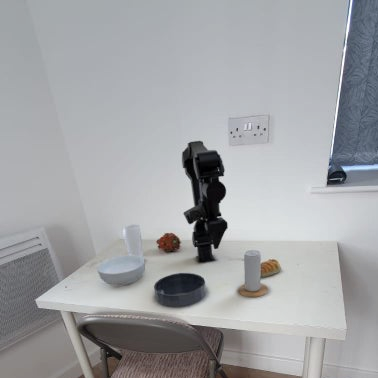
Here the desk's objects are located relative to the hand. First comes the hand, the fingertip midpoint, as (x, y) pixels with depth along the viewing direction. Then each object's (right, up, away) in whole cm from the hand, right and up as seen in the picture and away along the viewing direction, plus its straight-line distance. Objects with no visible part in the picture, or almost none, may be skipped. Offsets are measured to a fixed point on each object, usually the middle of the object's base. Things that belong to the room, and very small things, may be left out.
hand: (213, 244), depth 108 cm
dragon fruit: (-17, +3, +34) cm, 38 cm away
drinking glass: (-29, -3, +26) cm, 39 cm away
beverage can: (+12, -15, -5) cm, 20 cm away
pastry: (+19, -9, +5) cm, 22 cm away
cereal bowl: (-32, -12, +11) cm, 35 cm away
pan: (-11, -17, -3) cm, 20 cm away
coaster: (+12, -15, -6) cm, 21 cm away
